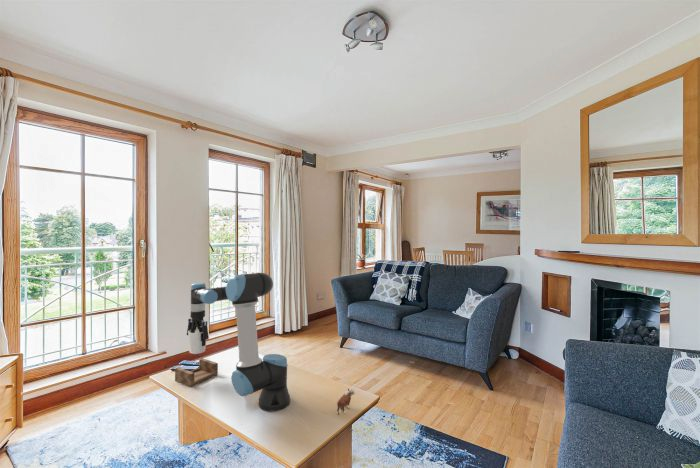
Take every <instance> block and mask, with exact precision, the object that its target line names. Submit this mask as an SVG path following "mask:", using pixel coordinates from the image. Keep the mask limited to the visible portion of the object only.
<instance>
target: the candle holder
mask: <svg viewBox="0 0 700 468" xmlns="http://www.w3.org/2000/svg"><path fill="white" fill-rule="evenodd" d="M201 333H203V332H200V333H199V329H197V328H196V330H195V333H191V330H189V331H188V335H187V336H188V337H187V339H188V352H189V354H192V355H198V354H202V353H205V351H203V352H200V340H201ZM206 345H207V344H206ZM206 345H205V349H206V347H207V346H206Z"/></svg>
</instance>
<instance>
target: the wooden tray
mask: <svg viewBox="0 0 700 468" xmlns="http://www.w3.org/2000/svg"><path fill="white" fill-rule="evenodd" d="M198 361H199V363H198V366H199V367H197V368H195V369H192V370H187V369H185V368H182V367H179V366H177V367H175V368H174V369H175V370H174V371H175V372H174V382H176V383H179V384H182V385H184V386H187V387H188V388H192V387H194V386H197V385H199V384H202V383H203V382H205V381H208V380H210V379H213V378H215V377H217V376H219V375H218V372H219V371H218V370H219V369H218V368H219V363H217V362H216V361H211V360H209V359H206V358H199V360H198Z"/></svg>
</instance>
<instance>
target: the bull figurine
mask: <svg viewBox="0 0 700 468" xmlns="http://www.w3.org/2000/svg"><path fill="white" fill-rule="evenodd" d="M353 395H356V392H355V391H354V390H353V389H352V388H350V389H349V388H347V390H346V392H345V393H344V394H342V396H341V397H340V398H339V399H338V401H337V402H336V403H337V409H336V413H337V412H339V411H340V410H341V414H343V412H344V411H345V408H346V407H348V406H349V407H350V403H351V399H352V396H353ZM345 406H346V407H345ZM339 413H340V412H339Z"/></svg>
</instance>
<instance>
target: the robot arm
mask: <svg viewBox="0 0 700 468" xmlns="http://www.w3.org/2000/svg"><path fill="white" fill-rule="evenodd" d="M190 286H191V287H190V318H188V320H187V321H188V323H187V330H186V336H188V331H189V330H191V333H195V330H196V328H197V329H199V333H200V332H203V333H201V340H200V352H202V353H204V352H206V348H205V345H207V340H208V339H209V338H210V337H209V330H208V321H207V320H206V321H205V320H204V318H205V316H206V310H205V309H206V305H212V304H215V303H216V302H220V301H227V300H229V301H230V302H231V305H232V306H233V307H234V308H235V314H236V317H235V318H236V328H237V329H236V330H237V331H236V332H237V344H238V362H237V363H236V365H235V369H236V370H235V369H234V371H232V373H231V385H232V387H233V389H234V390H235V392H236V394H238V395H240V396H241V397H246V396H249V395H252V394H254V393H256V392H258V391H261V392H260V395H259V398H258V407H259V408H260V409H261V410H263V411H265V412H278V411H280V410H283V409H285V408H287V407H288V406H289V405H290V403H291V396H290V394H289V389H288V386H287V385H288V384H287V383H288V381H287V380H288V360H287V357H286V356H285V355H282V354H278V353H270V354H266V355H264V356H263V357H262V358H261V357H259V341H258V331H257V330H258V329H257V328H258V327H257V316H256V305H257V303H258V302H259V298H260V297H264V296H266V295H268V294H270V292H272V290H273V288H274V281H273V279H272V277H271V276H270V275H269V274H267V273H265V272H256V273H255V272H254V273H244V274H243V273H242V274H236V275H232V276H231V277H230V278H229V279H228V281H227V283H226V286H221V287H211V288H207V287H206V283H205V282H196V283H195V282H194V283H192V284H191V285H190ZM203 351H204V352H203Z"/></svg>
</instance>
